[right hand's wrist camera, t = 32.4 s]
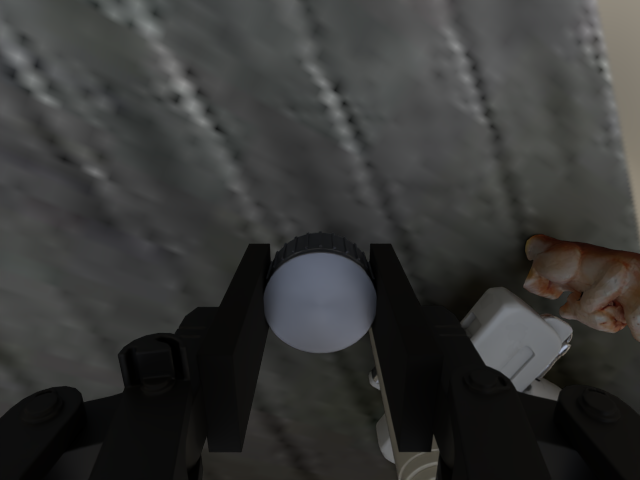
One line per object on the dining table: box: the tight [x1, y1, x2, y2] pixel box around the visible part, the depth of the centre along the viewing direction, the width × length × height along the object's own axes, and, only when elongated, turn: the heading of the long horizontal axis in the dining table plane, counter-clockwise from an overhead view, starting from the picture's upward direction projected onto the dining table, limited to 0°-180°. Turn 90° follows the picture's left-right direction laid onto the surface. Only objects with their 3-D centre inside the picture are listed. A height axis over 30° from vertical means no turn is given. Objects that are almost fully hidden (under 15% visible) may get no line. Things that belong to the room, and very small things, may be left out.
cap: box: [263, 231, 377, 353], centre depth 14 cm, size 4×4×2 cm
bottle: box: [368, 327, 439, 480], centre depth 30 cm, size 5×5×24 cm
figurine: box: [523, 234, 640, 342], centre depth 32 cm, size 6×8×15 cm
